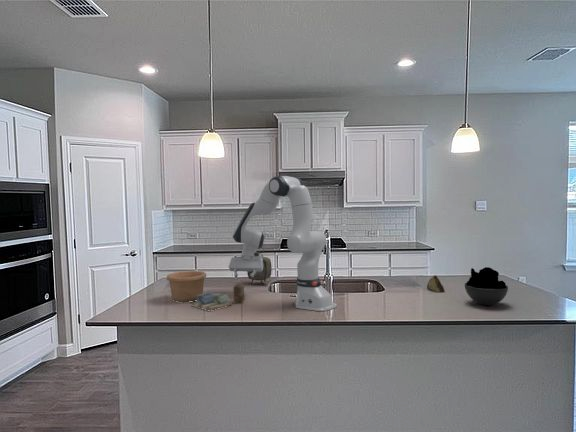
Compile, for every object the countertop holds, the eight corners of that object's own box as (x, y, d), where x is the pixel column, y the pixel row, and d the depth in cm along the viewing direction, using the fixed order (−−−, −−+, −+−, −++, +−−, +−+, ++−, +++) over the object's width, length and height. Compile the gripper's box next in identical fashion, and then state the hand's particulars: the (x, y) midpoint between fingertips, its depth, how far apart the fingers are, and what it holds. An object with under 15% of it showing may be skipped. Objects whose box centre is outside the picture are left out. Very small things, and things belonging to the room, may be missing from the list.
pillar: (244, 301, 223) (243, 285, 223) (241, 303, 219) (241, 287, 218) (236, 301, 224) (236, 285, 223) (233, 303, 219) (233, 286, 219)
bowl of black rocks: (508, 302, 210) (508, 266, 209) (507, 311, 193) (507, 273, 192) (467, 297, 220) (467, 263, 219) (462, 306, 203) (462, 270, 202)
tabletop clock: (247, 284, 265) (246, 247, 264) (253, 281, 273) (252, 245, 272) (267, 286, 259) (266, 247, 258) (273, 283, 267) (272, 246, 266)
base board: (231, 305, 215) (231, 294, 214) (210, 311, 204) (209, 299, 204) (213, 300, 225) (213, 290, 225) (192, 306, 215) (191, 295, 215)
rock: (421, 284, 244) (426, 286, 234) (429, 273, 244) (434, 274, 234) (436, 295, 243) (441, 297, 233) (444, 284, 243) (450, 285, 233)
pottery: (197, 304, 218) (196, 278, 217) (160, 303, 222) (159, 277, 221) (212, 295, 239) (212, 271, 238) (178, 294, 243) (177, 270, 243)
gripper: (230, 253, 238) (224, 273, 229) (263, 254, 234) (259, 273, 225) (233, 259, 243) (227, 279, 234) (265, 260, 239) (261, 280, 230)
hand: (243, 276), depth 230 cm, fingers open, 8 cm apart
